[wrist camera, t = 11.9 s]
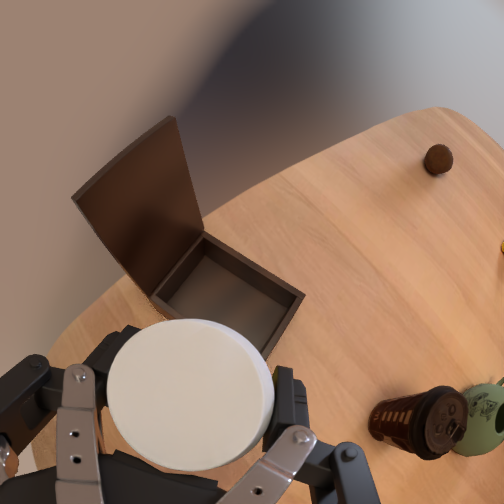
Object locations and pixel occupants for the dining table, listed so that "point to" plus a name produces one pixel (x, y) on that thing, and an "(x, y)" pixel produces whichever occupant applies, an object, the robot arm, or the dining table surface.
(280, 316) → the brown wooden box
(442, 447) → the coffee cup
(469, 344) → the dining table surface
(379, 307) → the dining table surface
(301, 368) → the dining table surface
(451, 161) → the potato
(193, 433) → the pill bottle
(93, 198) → the lid
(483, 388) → the green ceramic domed vessel
